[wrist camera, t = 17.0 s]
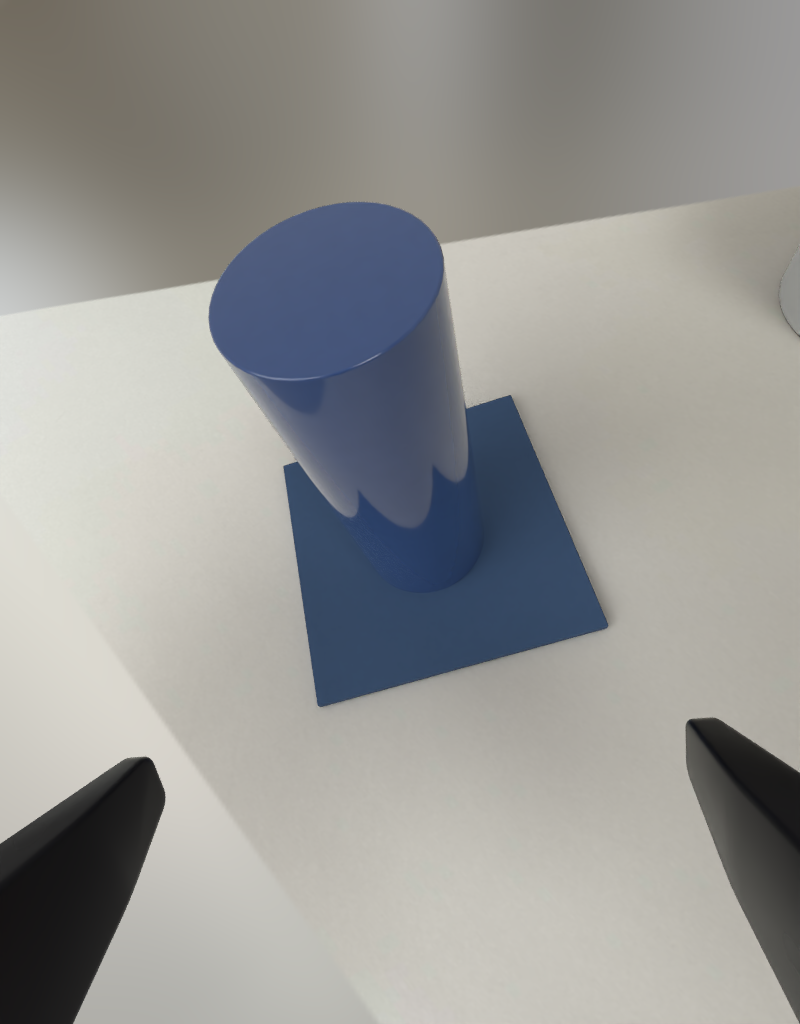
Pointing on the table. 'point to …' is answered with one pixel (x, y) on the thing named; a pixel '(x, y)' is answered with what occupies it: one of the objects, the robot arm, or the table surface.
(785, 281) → the cup
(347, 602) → the blue mat
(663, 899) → the table surface
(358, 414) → the blue upright cylinder
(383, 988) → the table surface
